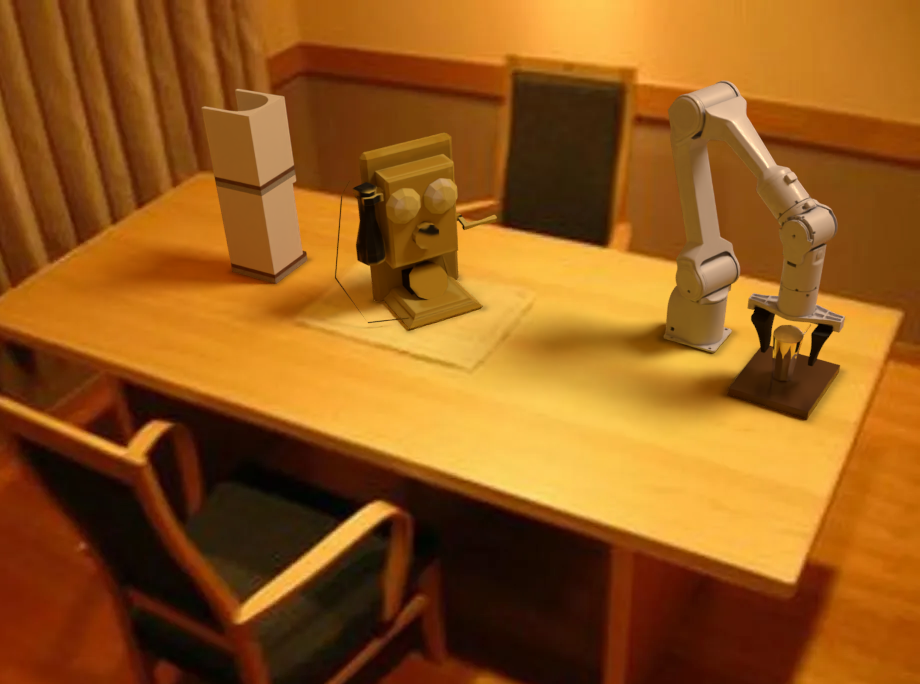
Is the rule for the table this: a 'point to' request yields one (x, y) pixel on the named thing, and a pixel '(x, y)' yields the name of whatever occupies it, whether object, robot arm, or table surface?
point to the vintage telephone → (412, 230)
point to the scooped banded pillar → (256, 185)
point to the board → (784, 384)
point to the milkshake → (786, 351)
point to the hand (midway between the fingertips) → (788, 356)
